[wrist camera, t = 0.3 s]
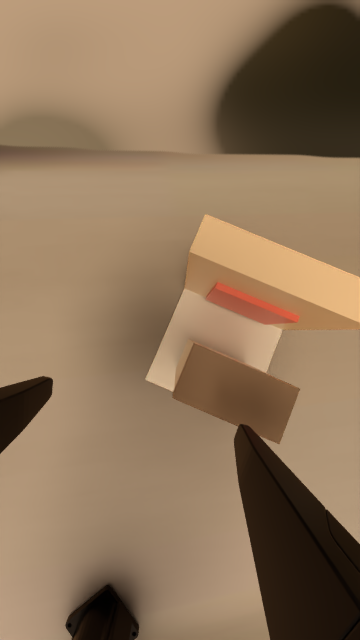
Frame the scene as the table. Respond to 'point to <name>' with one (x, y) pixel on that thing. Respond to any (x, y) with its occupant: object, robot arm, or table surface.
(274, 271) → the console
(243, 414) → the brown topped beige block
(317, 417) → the table surface
